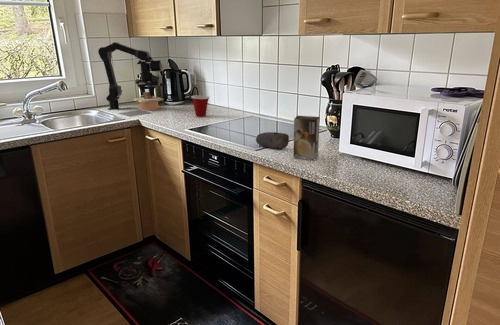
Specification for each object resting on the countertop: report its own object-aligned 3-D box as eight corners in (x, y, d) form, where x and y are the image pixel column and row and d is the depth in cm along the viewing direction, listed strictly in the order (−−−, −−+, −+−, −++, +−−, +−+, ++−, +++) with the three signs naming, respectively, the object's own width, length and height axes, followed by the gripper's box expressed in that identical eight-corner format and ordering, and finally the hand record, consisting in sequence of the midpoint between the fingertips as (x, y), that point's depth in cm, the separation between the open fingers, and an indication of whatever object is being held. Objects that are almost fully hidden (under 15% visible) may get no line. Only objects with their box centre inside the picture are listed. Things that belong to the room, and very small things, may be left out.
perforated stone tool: (253, 146, 165) (253, 131, 162) (259, 143, 169) (259, 128, 167) (284, 151, 157) (284, 135, 155) (289, 148, 162) (290, 132, 159)
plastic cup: (209, 117, 222) (208, 97, 219) (190, 118, 223) (189, 97, 219) (211, 114, 233) (210, 94, 229) (193, 114, 233) (192, 94, 229)
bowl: (136, 109, 249) (135, 100, 247) (152, 107, 257) (151, 98, 255) (146, 111, 241) (145, 102, 239) (162, 109, 249) (161, 100, 247)
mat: (118, 114, 234) (118, 113, 234) (139, 110, 244) (139, 110, 244) (130, 117, 224) (130, 116, 224) (152, 114, 235) (152, 113, 234)
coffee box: (318, 156, 151) (320, 116, 146) (315, 160, 146) (317, 119, 140) (296, 153, 154) (297, 115, 149) (292, 158, 149) (293, 118, 144)
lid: (133, 100, 247) (132, 92, 245) (151, 97, 257) (151, 90, 255) (144, 102, 238) (143, 94, 236) (163, 100, 247) (162, 92, 246)
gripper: (164, 71, 241) (166, 95, 246) (148, 69, 253) (150, 93, 258) (149, 72, 233) (151, 97, 238) (133, 70, 245) (136, 94, 250)
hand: (147, 95), depth 246 cm, fingers open, 9 cm apart
